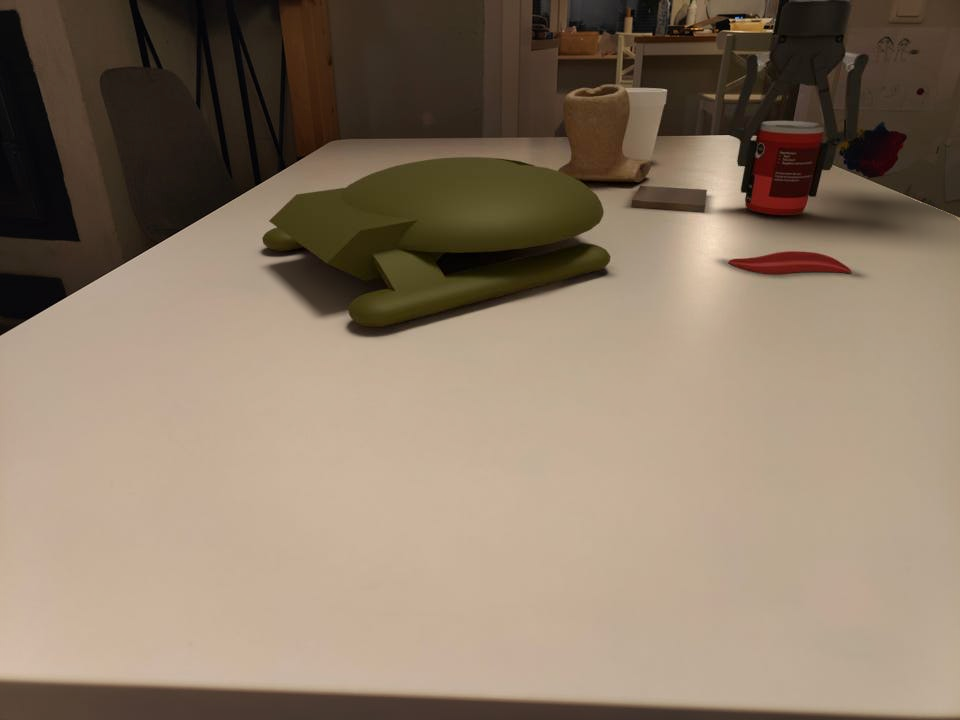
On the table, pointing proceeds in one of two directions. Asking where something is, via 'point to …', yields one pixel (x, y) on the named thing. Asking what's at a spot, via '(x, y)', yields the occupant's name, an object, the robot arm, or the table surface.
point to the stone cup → (600, 136)
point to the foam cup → (643, 122)
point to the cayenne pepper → (791, 263)
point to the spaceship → (443, 232)
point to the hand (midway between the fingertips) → (777, 192)
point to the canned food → (783, 166)
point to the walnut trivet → (670, 198)
